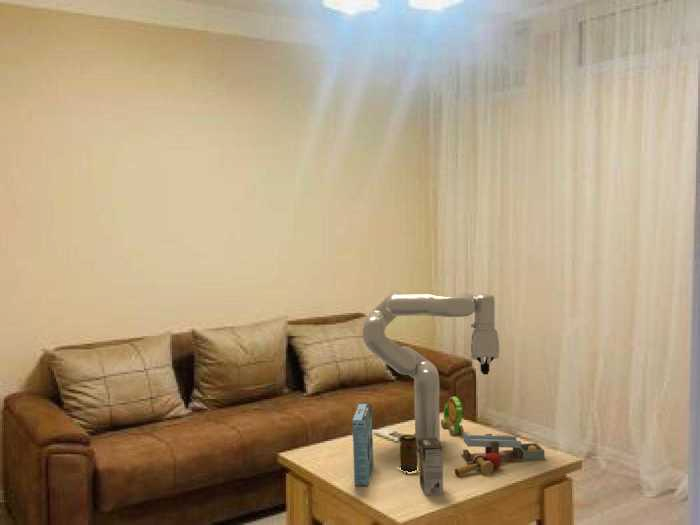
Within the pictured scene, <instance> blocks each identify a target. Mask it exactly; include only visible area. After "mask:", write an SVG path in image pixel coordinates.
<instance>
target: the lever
mask: <svg viewBox="0 0 700 525" xmlns="http://www.w3.org/2000/svg"><path fill="white" fill-rule="evenodd" d="M492 441H498V442H499V448H506V449H507V448H508V449H509V448H510V449H511V448H512V449H513V448H521V444H522V440H517V435H510V434H508V433H497V434H496V435H493V434H492V435H484V434H469V432H468V431H465V432H464V433H463V442H464V444H465V445H466V446H467V447H469V448H470V447H475V448H477V447H478V448H485V447H492Z"/></svg>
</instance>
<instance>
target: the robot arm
mask: <svg viewBox="0 0 700 525" xmlns="http://www.w3.org/2000/svg"><path fill="white" fill-rule="evenodd" d="M495 308H496V307H495V297H494V295H493V294H489V293H487V294H486V293H482V294H479V293H478V294H474V293H464V292H463V293H459V294H458V295H456V296H455V297H454V296H439V295H438V296H437V295H434V294H431V293H427V292H426V293H425V292H424V293H402V292H401V291H392V292H391V293H389V294H388V295H387V296H386V297H385V298H384V300H382V301H381V302H380V303H379V304H378V305H376V307H375V308H374V309H373V310H371V312H369V313H368V315H366V318H365V321H364V323H363V328H362V340H363V342H364V345H365V347H366V348H367V349H368V350H369V351H370V352H371V353H372V354H373V355H375V356H376V357H377V358H379V359H380V360H381V361H383V362H384V363H385V364H386V365H388V366H389V367H390V368H392V369H393V370H394V371H395V372H397V373H398V374H400V375H402V376H403V375H404V376H406V375H408V376H409V377H410V378H412V379H414V380H413V388H414V392H413V393H414V433H413V434H412V435H414V436H415V437H416V444H417V452H419V439H421V438H437V439H438V441H439V442H440V444H441V445H442V447H443V448H444V446H445V444H444V441H441V439H440V438H441V437H440V436H441V435H440V432H441V430H440V429H441V428H440V426H441V425H440V424H441V420H440V376H439V371H438V368H437V367H436V365H435V364H433V363H432V361H430V360H428V359H427V358H426V357H424V356H423V355H421V354H420V353H419V352H417V351H416V350H415V349H413V348H412V347H409V346H405V345H403V346H400V345H399V344H397V343H396V342H395V341H394V340H393V339H390V338H389V337H388V336H387V335H386V334H385V332H386V328H387V326H388V325H389V324H390V323H392V321H394V320H395V319H396V318H397V317H407V316H409V317H411V316H417V317H419V316H421V317H423V316H424V317H425V316H426V317H427V316H428V317H443V318H460V317H461V318H463V317H465V318H466V317H469V316H472V314H474V322H473V323H471V324H470V327H471V329H473V330H472V334H471V340H470V341H471V342H470V351H471V352H470V353H471V354H470V358H471V359H472V360H475V361H478V362H479V363H480V372H481V374H483V375H489V372H490V365H491V362H492V361H493V360H496V359H499V357H500V356H499V355H500V344H499V342H500V341H499V336H498V335H499V334H498V330H497V329H495V328H496V327H495V324H496V321H495V320H496V317H495V313H496V312H495Z"/></svg>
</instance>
